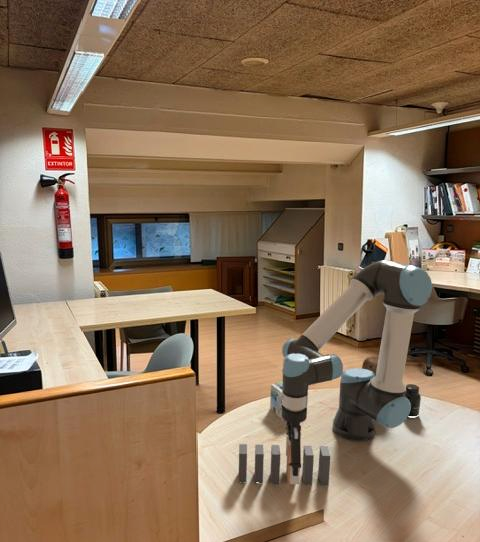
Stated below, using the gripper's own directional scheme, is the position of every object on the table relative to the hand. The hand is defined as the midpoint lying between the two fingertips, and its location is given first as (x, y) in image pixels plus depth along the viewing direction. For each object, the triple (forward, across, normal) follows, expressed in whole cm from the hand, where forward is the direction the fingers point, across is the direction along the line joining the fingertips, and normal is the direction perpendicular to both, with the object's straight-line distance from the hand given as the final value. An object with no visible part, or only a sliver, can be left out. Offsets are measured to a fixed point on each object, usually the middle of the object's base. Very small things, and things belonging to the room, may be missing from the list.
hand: (292, 468), depth 140 cm
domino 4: (+3, 0, 0) cm, 4 cm away
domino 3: (+3, 0, -5) cm, 6 cm away
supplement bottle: (+4, -41, +51) cm, 65 cm away
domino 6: (+4, 0, +10) cm, 10 cm away
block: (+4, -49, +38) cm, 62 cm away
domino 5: (+4, 0, +5) cm, 6 cm away
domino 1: (+3, 0, -15) cm, 16 cm away
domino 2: (+3, 0, -10) cm, 11 cm away
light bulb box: (+4, -40, +1) cm, 40 cm away
